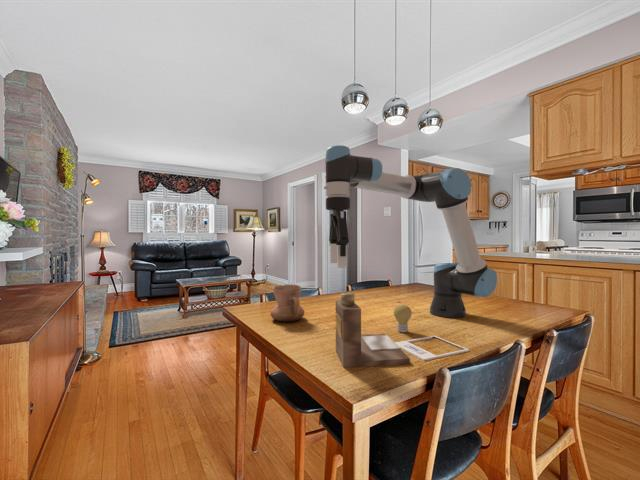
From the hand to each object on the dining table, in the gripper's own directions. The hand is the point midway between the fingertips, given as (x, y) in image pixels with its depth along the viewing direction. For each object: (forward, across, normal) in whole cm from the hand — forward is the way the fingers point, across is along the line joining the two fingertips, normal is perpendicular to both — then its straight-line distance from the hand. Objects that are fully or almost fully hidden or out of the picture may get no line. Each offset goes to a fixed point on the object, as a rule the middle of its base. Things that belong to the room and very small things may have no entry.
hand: (338, 265), depth 98 cm
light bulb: (+27, -15, +27) cm, 41 cm away
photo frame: (+27, +2, +29) cm, 40 cm away
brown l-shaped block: (+27, +2, +8) cm, 28 cm away
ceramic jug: (+27, -37, -15) cm, 48 cm away
